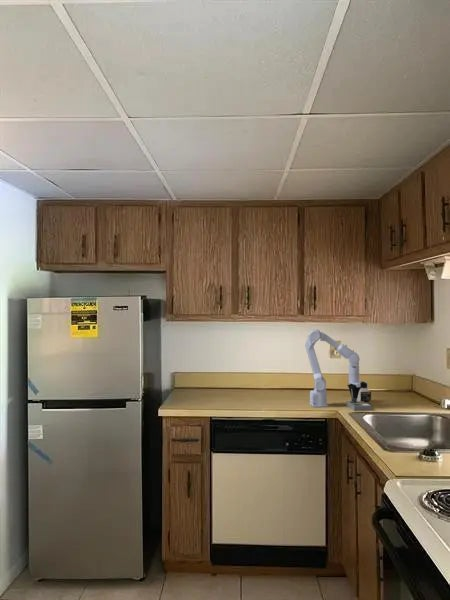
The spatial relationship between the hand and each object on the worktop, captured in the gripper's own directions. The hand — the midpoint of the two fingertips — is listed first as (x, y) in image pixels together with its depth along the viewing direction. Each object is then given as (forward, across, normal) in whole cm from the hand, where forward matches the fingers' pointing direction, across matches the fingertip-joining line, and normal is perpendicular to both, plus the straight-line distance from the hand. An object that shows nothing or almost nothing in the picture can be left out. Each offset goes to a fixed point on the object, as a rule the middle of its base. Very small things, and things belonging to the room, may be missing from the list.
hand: (354, 397), depth 279 cm
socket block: (+5, -3, -2) cm, 6 cm away
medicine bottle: (+6, +13, -10) cm, 17 cm away
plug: (+2, 0, 0) cm, 2 cm away
